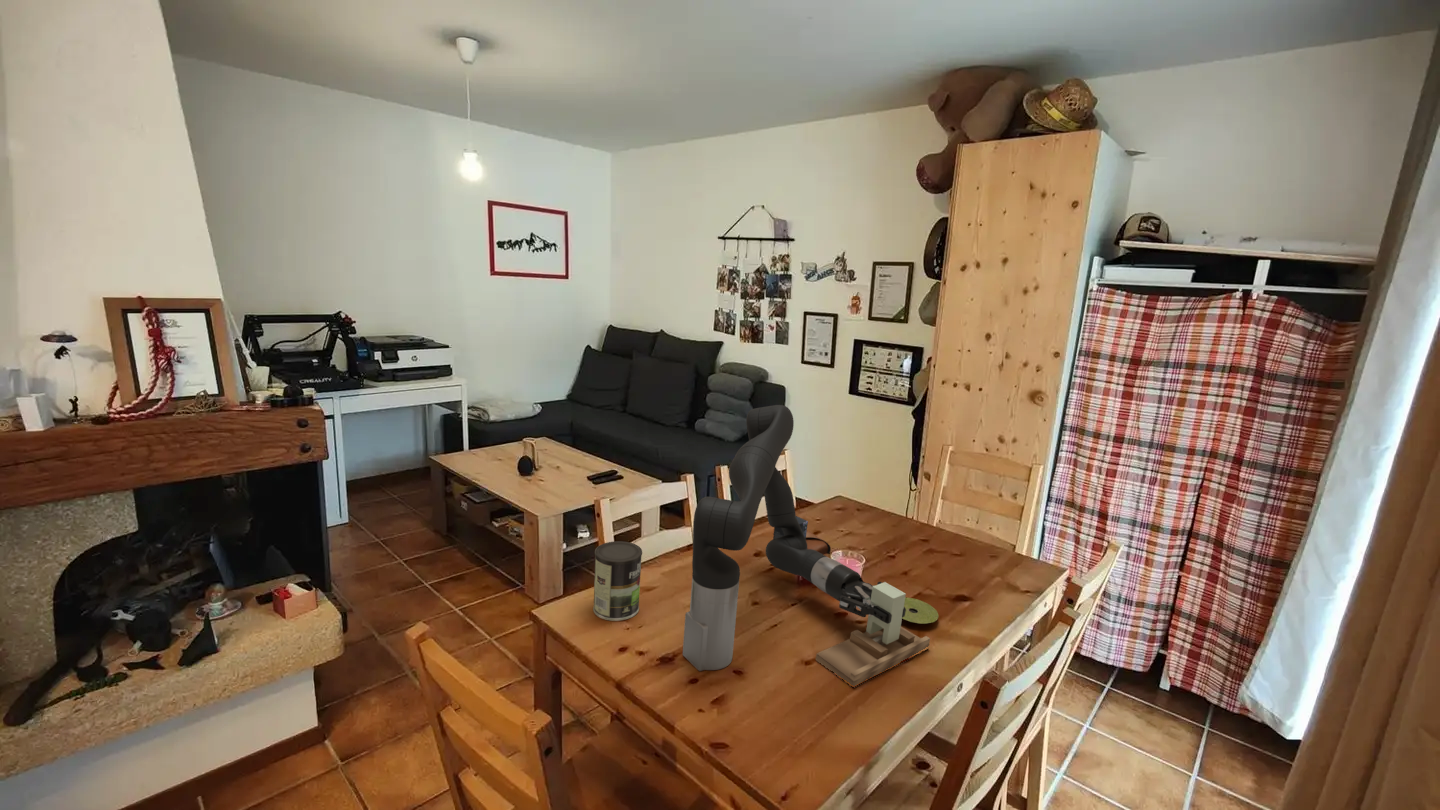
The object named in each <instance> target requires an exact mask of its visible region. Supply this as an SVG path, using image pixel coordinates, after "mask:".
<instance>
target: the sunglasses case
mask: <svg viewBox="0 0 1440 810" xmlns="http://www.w3.org/2000/svg"><path fill="white" fill-rule="evenodd" d="M772 535H773V536H774V533H772ZM806 542H807V549H813V550H816V551H818V552H820V553H821V554H823V555H827V554H828V555H830V553H831V545H830V544H829V543H828V542H827V541H825V540H824V539H822V538H820V537H818V536H817V535H816V534H814V533H813V532H812V531H809V530H808V529H807V533H806Z"/></svg>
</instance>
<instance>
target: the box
mask: <svg viewBox="0 0 1440 810" xmlns="http://www.w3.org/2000/svg"><path fill="white" fill-rule="evenodd" d="M796 518H797V520H798V522H799V525H800V527H801V530H802V532H803V534H804V537H805V539H806V533H807V530H808V524H809V521H808V520H807V519H804V518H802V517H800V516H797V515H796ZM773 528H774V529H773V534H774V535H773V537H772V538H773V539H775V538H779V537H782V536H784V533H783V530H782V529H781V528H775V527H773ZM773 539H772V540H773Z"/></svg>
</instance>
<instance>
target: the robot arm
mask: <svg viewBox="0 0 1440 810" xmlns="http://www.w3.org/2000/svg"><path fill="white" fill-rule="evenodd" d="M793 415H794V414H792V411H791V409H790V408H789V407H788V406H786V405H783V404H775V405H774V404H773V405H769V406H768V405H767V406H763V407H762V406H761V407H757V408H751V409H750V410H749V411H748V412H747V415H746V420H745V421H746V423H745V424H746V425H745V426H746V432H747V435H748V441H747V442H745V443H743V445H742V446H741V447H739V449H738V450H737V452H736V453H735V456H734V457H733V459H732V461H731V463H730V465H729V469H728V476H729V477H728V478H729V480H730V484H731V486H732V488H733V490H734V492H735V493H736V495H737V497H738V498H739V500H738V501H736V500H733V499H732V500H731V499H727V498H726V499H724V498H719V497H715V496H713V497H712V496H704V497H701V499H700V500H699V501H698V503H697V505H696V507H695V510H694V515H693V522H692V523H693V525H692V527H693V528H692V559H691V560H692V561H691V563H692V572H691V573H692V574H691V575H692V576H691V577H692V578H691V590H690V591H691V592H690V605H689V611H687V612H685V615H684V616H685V617H684V630H683V642H682V656H683V657H684V658H685V660H687V661H688V662H690V664H691V665H692V666H693V667H694V668H696V670H698V671H699V672H702V671H705V670H706V671H717V670H722V669H725V668H726V667H727V666H729V665H731V662H732V661H733V655H734V643H735V632H736V622H737V621H736V620H737V619H736V618H737V610H738V597H739V588H740V575H741V569H740V565H739V563H738V561H736V560H735V559H733V558H732V557H730V556H729V555H728V554H726V553H725V552H723V551H722V549H723V550H728V551H733V552H734V551H741V550H743V549H744V548H745V547H746V545H747V543H748V542H749V540H750V537H751V534H752V531H753V529H754V524H755V520H756V517H757V515H758V510H759V507H760V504H761V502H762V499H763V497H764V502H765V508H766V515H767V521H768V524H769V526H770V527H772V528H774V527H775V528H781V529H782V530H783V533H784V536H782V537H779V538H775V539H771V540H770V541H769V542H767V544H766V547H765V556H766V558H767V560H768V562H769V563H770V564H771V566H773V567H774V568H777V569H778V570H780V571H781V572H782V571H783V572H786V573H789V574H792V575H795V576H796V575H797V576H798V577H799V576H800V577H802V578H803V579H805V580H807V581H808V582H809V583H811V584H813V585H814V586H816V587H817V588H818V589H819V590H820V591H822V592H824V593H825V594H827V595H829V596H830V597H831V598H833V599H834V600H836V601H837V602H839V603H838V604H839V605H838V607H839V608H840V610H844V611H847V612H849V613H851V614H854V615H857V616H860V617H861V618H866V617H867V616H868V615H869V616H875V617H876V618H878V619H880V620H881V621H883V622H885V623H887V624H888V623H890V622H891V619H892V614H891V613H889V612H888V611H886V610H884V609H883V608H881V607H879V606H878V605H877V606H876V604H875V603H873V602H872V601H871V594H872V588H873V586H876V585H878V584H881V583H883V582H882V581H877V584H876V585H873V584H871V583H868V582H865V581H864V580H863V578H862V576H861V574H860V573H859V572H858V571H856V570H854V569H852V568H850V567H848V566H847V565H845V564H843V563H841V562H839V561H838V560H835V559H834V558H830V557H828V556H827V555H826V554H824V555H823V554H821V553H820V552H818V551H816V550H813V549H807V542H806V539H805V537H804V534H803V532H802V530H801V527H800V525H799V522H798V520H797V518H796V516H797V514H796V507H795V501H794V496H793V492H792V489H791V486H790V485H789V483H788V481H787V480H786V479H785V477H784V476H783V475H782V473H781V472H780V471H779V470H778V468H777V467H776V465H777V463H778V460H779V458H780V456H781V454H782V452H783V450H784V449H785V447H786V446H787V444H788V443H789V441H790V439H791V438H792V435H793V431H794V421H795V420H794V416H793ZM857 608H858V609H857ZM905 612H906V608H905V607H904V609H903V614H902V617H904V616H905Z"/></svg>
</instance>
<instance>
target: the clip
mask: <svg viewBox="0 0 1440 810" xmlns="http://www.w3.org/2000/svg"><path fill="white" fill-rule="evenodd" d="M872 586H873V588H872V594H871V601H872V602H873V603H875V604H876V606H877V605H878V606H879V607H881V608H883V609H884V610H886V611H888V612H889V613H891V614H892V619H891V622H890V623H888V624H887V623H885V622H883V621H881V620H880V619H878V618H876V617H875V616H869V615H867V623H866V630H865V632H868V633H870V634H872V633H874V632H877V631H879V630H881V629H883V628H884V631H883V638H882V642H883V643H885V644H886V645H887V644H889V643H891V642H893V641H895V640H897V639H899V634H900V628H901V627H902V621H903V620H902V614H903V609H904V602H905V597H906V595H907V593H905V592H903V591H902V590H900V589H898V588H896V587H895V586H893V585H891V584H889V583H887V582H886V581H884V582H882V583H881V584H878V585H877V584H876V586H874V585H872Z"/></svg>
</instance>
